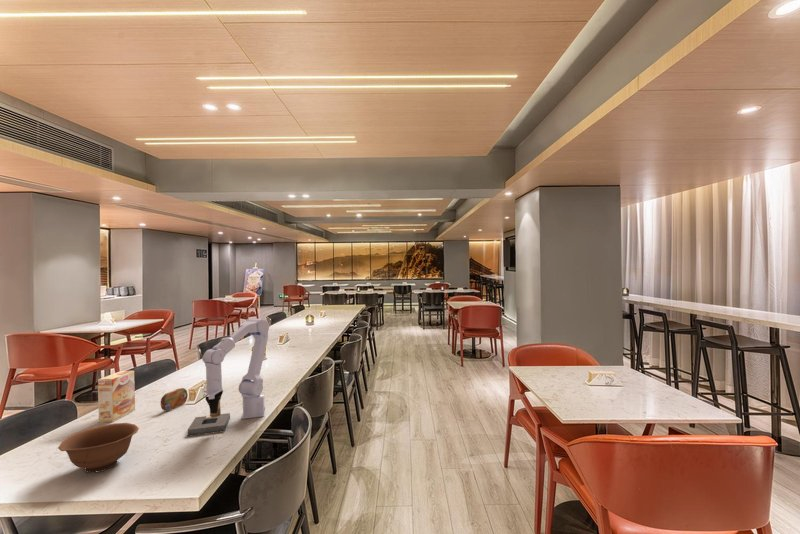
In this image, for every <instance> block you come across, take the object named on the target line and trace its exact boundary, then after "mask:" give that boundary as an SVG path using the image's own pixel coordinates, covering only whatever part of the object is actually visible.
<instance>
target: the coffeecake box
mask: <svg viewBox="0 0 800 534" xmlns="http://www.w3.org/2000/svg"><path fill="white" fill-rule="evenodd" d="M135 385H136V384H135V370H120V371H118V372H114V373H112V374H110V375H109V374H108V375H106V376H103V377H101V378H98V379H97V396H98V404H97V405H98V423H114V422H116V421H118V420H119V418H120V419H121V418H123V417H124V416H127V415H129V414H130V412H131V413H133V412H134V411H136V398H135V397H136V396H135V394H136V393H135V392H136V389H135V387H136V386H135ZM133 410H134V411H133ZM128 413H129V414H128ZM126 414H127V415H126Z"/></svg>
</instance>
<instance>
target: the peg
mask: <svg viewBox="0 0 800 534" xmlns="http://www.w3.org/2000/svg"><path fill="white" fill-rule="evenodd" d="M221 412H222V411H221V399H220V400H219V403H218V411H217V413H213V414H211V411H210V410H209V416H210V417H217V416H219V415H221V414H222V413H221Z"/></svg>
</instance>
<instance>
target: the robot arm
mask: <svg viewBox="0 0 800 534" xmlns="http://www.w3.org/2000/svg"><path fill="white" fill-rule="evenodd" d="M269 330H270V323H269V322H268V320H267V319H266V318H253V317H252V318H251V317H250V318H247V319H246V320H245V321H243V322H242V325H241V326H240V327H239V328H238V329H237V330H236V331H235V332H234V333H232V335H230V336H229V337H228V336H227V337H226V336H225V337H223V338H221V340H220V341H219V343H217V344H215V345H214V346H212V348H210V349H207V350H205V352H204V353H203V356H202V357H201V358H202V359H201V360H202V361H203V363H204V367H205V375H206V376H205V377H206V378H205V379H206V388H205V389H203V393H206V394H207V396H205V401H206V403H207V405H208V407H209V412H210V411H211V414H213V413H217V411H218V403H219V400H220V401H221V399H222V395H223V393H224V390H223V385H222V384H223V381H222V363H223V362H224V359H225V357H226V355H228V353H230V352H231V351H232V350H233V349H234V348H235V346H236V344H237V342H239V341H240V340H241V339H243V338H244V337H245V336H247V335H248V334H250V335H251V336H253V339H254V343H253V347H252V353H251V356H250V361H249V366H248V369H247V373H246V374H245V375H243V377H242V379H241V382H240V383H239V385H238V392H239V393H240V395H241V397H242V416H241V420H244V419H245V420H246V419H252V418H253V419H254V418H260V417H261V418H262V417H265V411H266V406H265V394H262V392H263V389H264V386H263V385H264V378H263V377H262V376H261V370H262V366H263V362H264V356H265V352H266V348H267V344H268V339H269Z"/></svg>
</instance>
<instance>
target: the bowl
mask: <svg viewBox="0 0 800 534" xmlns="http://www.w3.org/2000/svg"><path fill="white" fill-rule="evenodd" d="M139 430H140V428H139V427H138V426H137V425H136V424H135V423H129V422H119V423H118V422H117V423H114V422H113V423H110V424H104V425H99V426H95V427H91V428H88V429H87V428H86V429H84V430H81V431H79V432H76V433H74V434H71V435H70V436H68V437H66V438H65V439H63V440H62V441H61V443H60V445H59V446H58V447H57V449H59V451H60V452H66V454H67V457H68V458H69V461H70V462H71V463H72V464H73V465H74V466H75V467H77V468H82V469H84V471H85V470H86V471H88V472H87V473H89V472H94V473H97V472H96V471H100V472H103V471H106V470H109V469H111V468H112V467H113V468H114V466H116V464H118V461H119V460H120V459H121V458H123V456H125V455H126V454H127V452H128V451H129V447H130V446H131V441H132V438H133V436H134V435H136V434H137V433H138V431H139ZM85 468H86V469H85ZM102 470H103V471H102ZM86 471H85V472H86Z"/></svg>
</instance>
